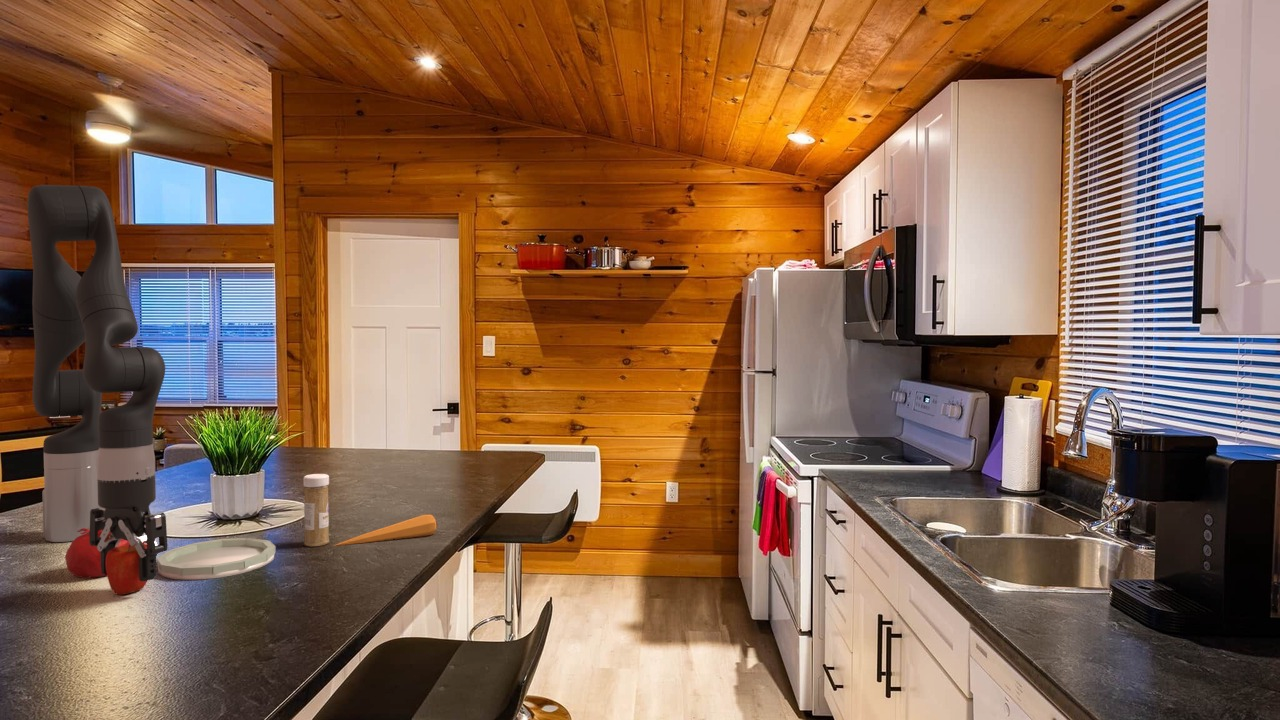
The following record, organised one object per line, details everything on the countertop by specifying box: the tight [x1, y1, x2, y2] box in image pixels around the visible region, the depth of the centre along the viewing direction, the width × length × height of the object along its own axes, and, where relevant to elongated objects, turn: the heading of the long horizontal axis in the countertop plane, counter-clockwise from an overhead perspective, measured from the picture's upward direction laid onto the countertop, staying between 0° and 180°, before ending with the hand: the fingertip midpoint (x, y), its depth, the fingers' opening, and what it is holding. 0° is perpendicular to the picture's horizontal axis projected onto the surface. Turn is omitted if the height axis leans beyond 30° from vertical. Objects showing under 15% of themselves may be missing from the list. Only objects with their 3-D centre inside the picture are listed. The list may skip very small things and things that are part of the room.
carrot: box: [332, 514, 438, 547], centre depth 150 cm, size 20×4×4 cm, turn 119°
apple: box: [106, 543, 148, 596], centre depth 119 cm, size 6×6×8 cm
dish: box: [156, 537, 277, 581], centre depth 134 cm, size 18×18×2 cm
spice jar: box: [303, 473, 330, 548], centre depth 146 cm, size 5×5×13 cm
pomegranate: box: [64, 528, 130, 579], centre depth 128 cm, size 10×10×9 cm
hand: (128, 576), depth 118 cm, fingers open, 8 cm apart
